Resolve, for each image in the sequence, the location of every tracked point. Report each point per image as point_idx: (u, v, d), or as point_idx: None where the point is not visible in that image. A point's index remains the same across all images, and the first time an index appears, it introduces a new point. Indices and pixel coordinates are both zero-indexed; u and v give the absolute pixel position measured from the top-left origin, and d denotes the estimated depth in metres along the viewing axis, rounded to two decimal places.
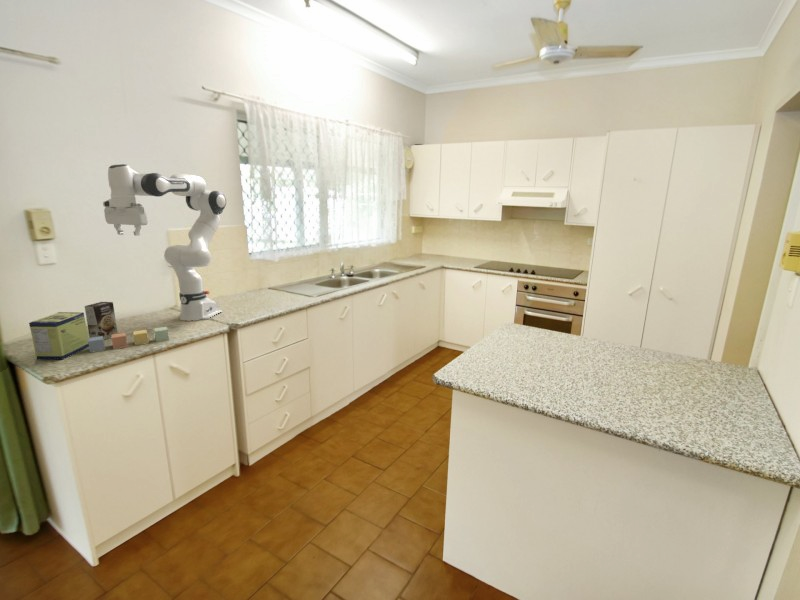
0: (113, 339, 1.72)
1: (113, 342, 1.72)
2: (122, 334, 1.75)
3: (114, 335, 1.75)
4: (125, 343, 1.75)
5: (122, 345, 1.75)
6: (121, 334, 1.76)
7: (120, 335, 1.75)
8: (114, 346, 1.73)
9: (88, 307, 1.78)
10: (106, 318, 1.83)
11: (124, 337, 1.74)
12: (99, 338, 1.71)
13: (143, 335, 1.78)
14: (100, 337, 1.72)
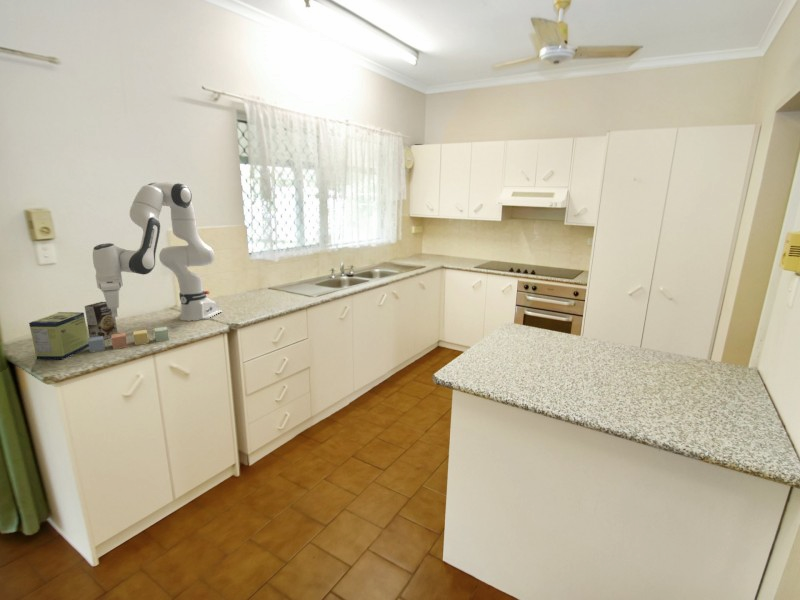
0: (113, 339, 1.72)
1: (113, 342, 1.72)
2: (122, 334, 1.75)
3: (114, 335, 1.75)
4: (125, 343, 1.75)
5: (122, 345, 1.75)
6: (121, 334, 1.76)
7: (120, 335, 1.75)
8: (114, 346, 1.73)
9: (88, 307, 1.78)
10: (106, 318, 1.83)
11: (124, 337, 1.74)
12: (99, 338, 1.71)
13: (143, 335, 1.78)
14: (100, 337, 1.72)
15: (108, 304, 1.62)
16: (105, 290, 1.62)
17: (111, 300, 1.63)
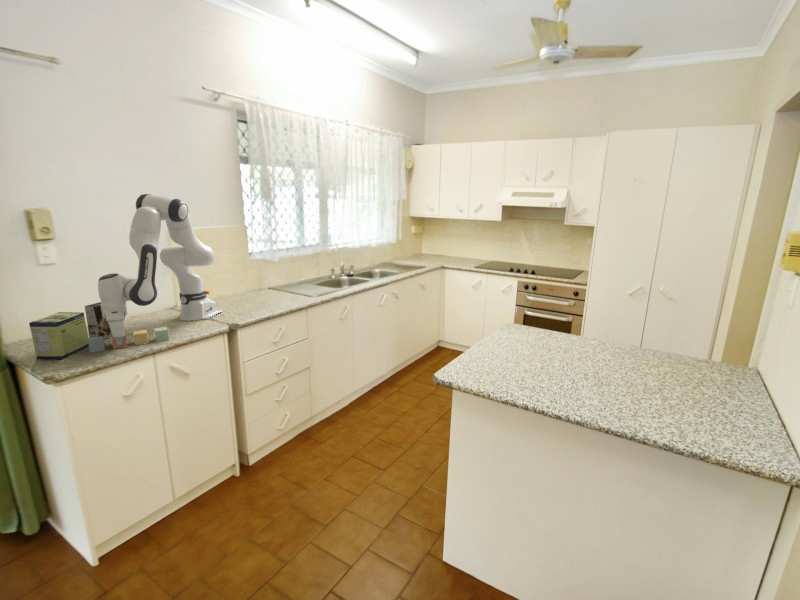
0: (113, 339, 1.72)
1: (113, 342, 1.72)
2: None
3: None
4: (125, 343, 1.75)
5: (122, 345, 1.75)
6: None
7: None
8: (114, 346, 1.73)
9: (88, 307, 1.78)
10: None
11: (124, 337, 1.74)
12: (99, 338, 1.71)
13: (143, 335, 1.78)
14: (100, 337, 1.72)
15: (113, 334, 1.65)
16: (110, 320, 1.65)
17: (116, 330, 1.66)
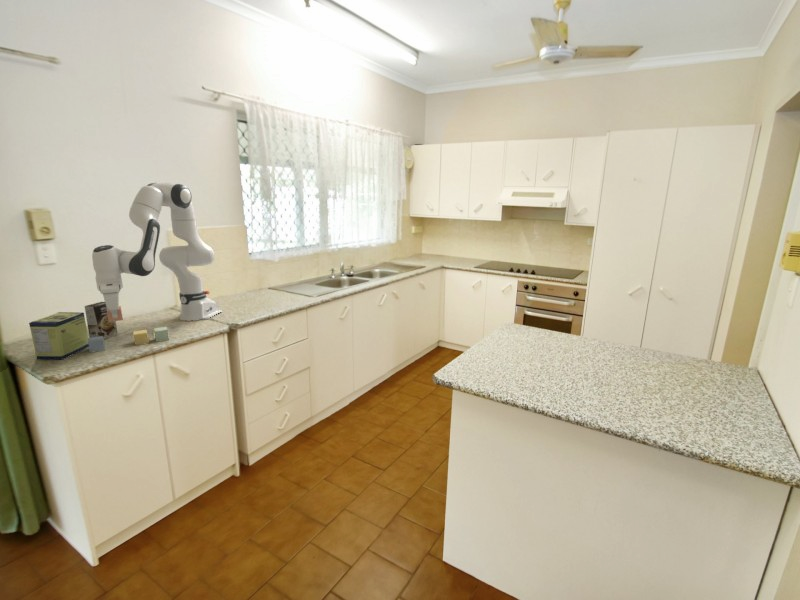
0: (108, 312, 1.70)
1: (108, 315, 1.70)
2: None
3: None
4: (120, 316, 1.73)
5: (117, 318, 1.72)
6: None
7: None
8: (109, 319, 1.71)
9: (88, 307, 1.78)
10: (106, 318, 1.83)
11: (119, 310, 1.72)
12: (99, 338, 1.71)
13: (143, 335, 1.78)
14: (100, 337, 1.72)
15: (108, 307, 1.63)
16: (105, 293, 1.62)
17: (111, 303, 1.63)
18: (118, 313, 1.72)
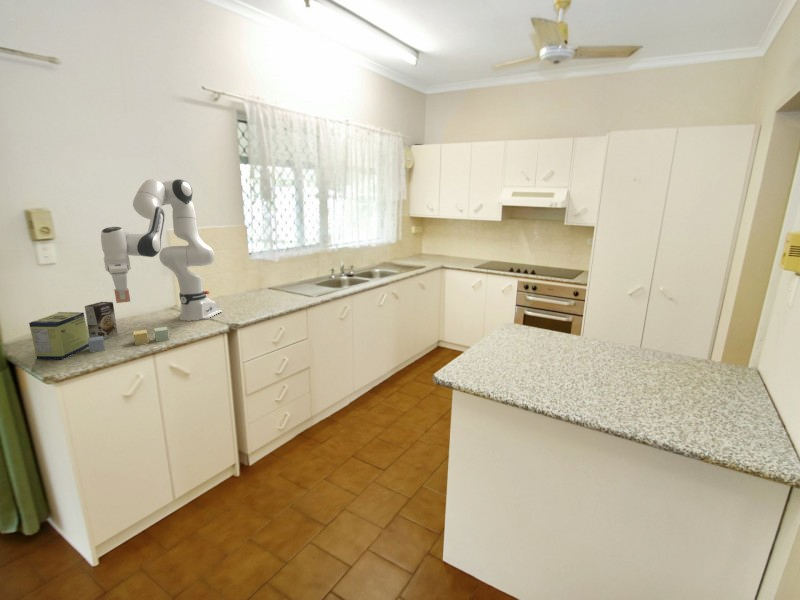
0: (116, 293, 1.71)
1: (116, 296, 1.71)
2: None
3: None
4: (128, 298, 1.74)
5: (125, 300, 1.74)
6: None
7: None
8: (117, 300, 1.72)
9: (88, 307, 1.78)
10: (106, 318, 1.83)
11: (127, 292, 1.73)
12: (99, 338, 1.71)
13: (142, 335, 1.78)
14: (100, 337, 1.72)
15: (116, 286, 1.64)
16: (113, 273, 1.64)
17: (119, 283, 1.65)
18: (126, 294, 1.73)
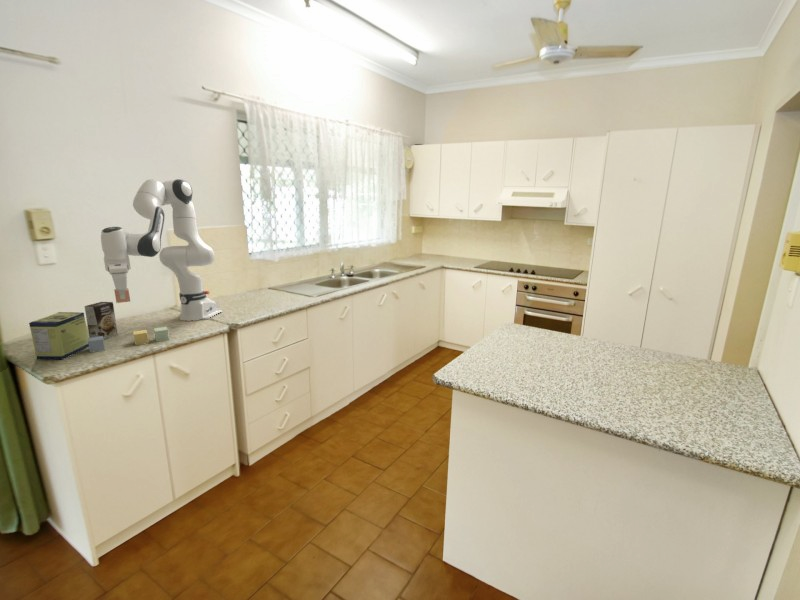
0: (116, 293, 1.71)
1: (116, 296, 1.71)
2: None
3: None
4: (128, 298, 1.74)
5: (125, 300, 1.73)
6: None
7: None
8: (117, 300, 1.72)
9: (88, 307, 1.78)
10: (106, 318, 1.83)
11: (127, 291, 1.73)
12: (99, 338, 1.71)
13: (143, 335, 1.78)
14: (100, 337, 1.72)
15: (116, 286, 1.64)
16: (113, 272, 1.64)
17: (119, 283, 1.65)
18: (126, 294, 1.73)
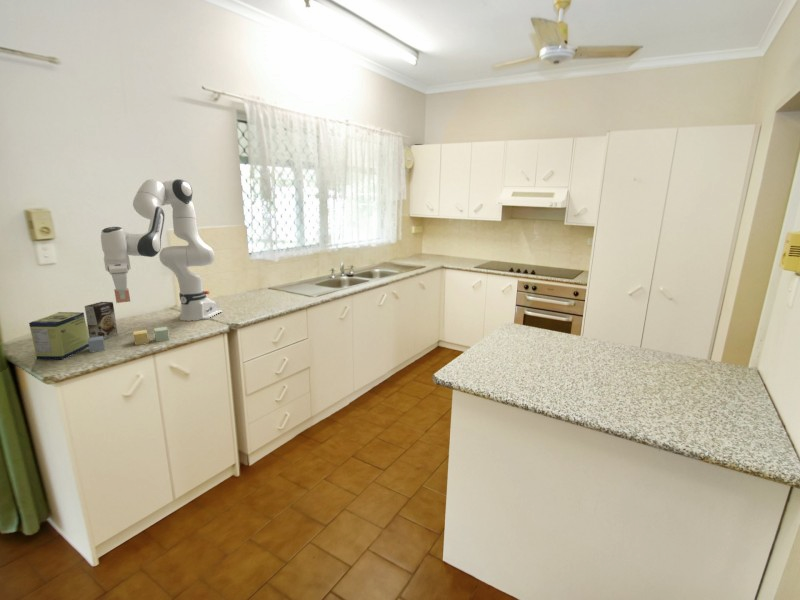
0: (116, 293, 1.71)
1: (116, 296, 1.71)
2: None
3: None
4: (128, 298, 1.74)
5: (125, 300, 1.73)
6: None
7: None
8: (117, 300, 1.72)
9: (88, 307, 1.78)
10: (106, 318, 1.83)
11: (127, 291, 1.73)
12: (99, 338, 1.71)
13: (142, 335, 1.78)
14: (100, 337, 1.72)
15: (116, 286, 1.64)
16: (113, 272, 1.64)
17: (119, 283, 1.65)
18: (126, 294, 1.73)
